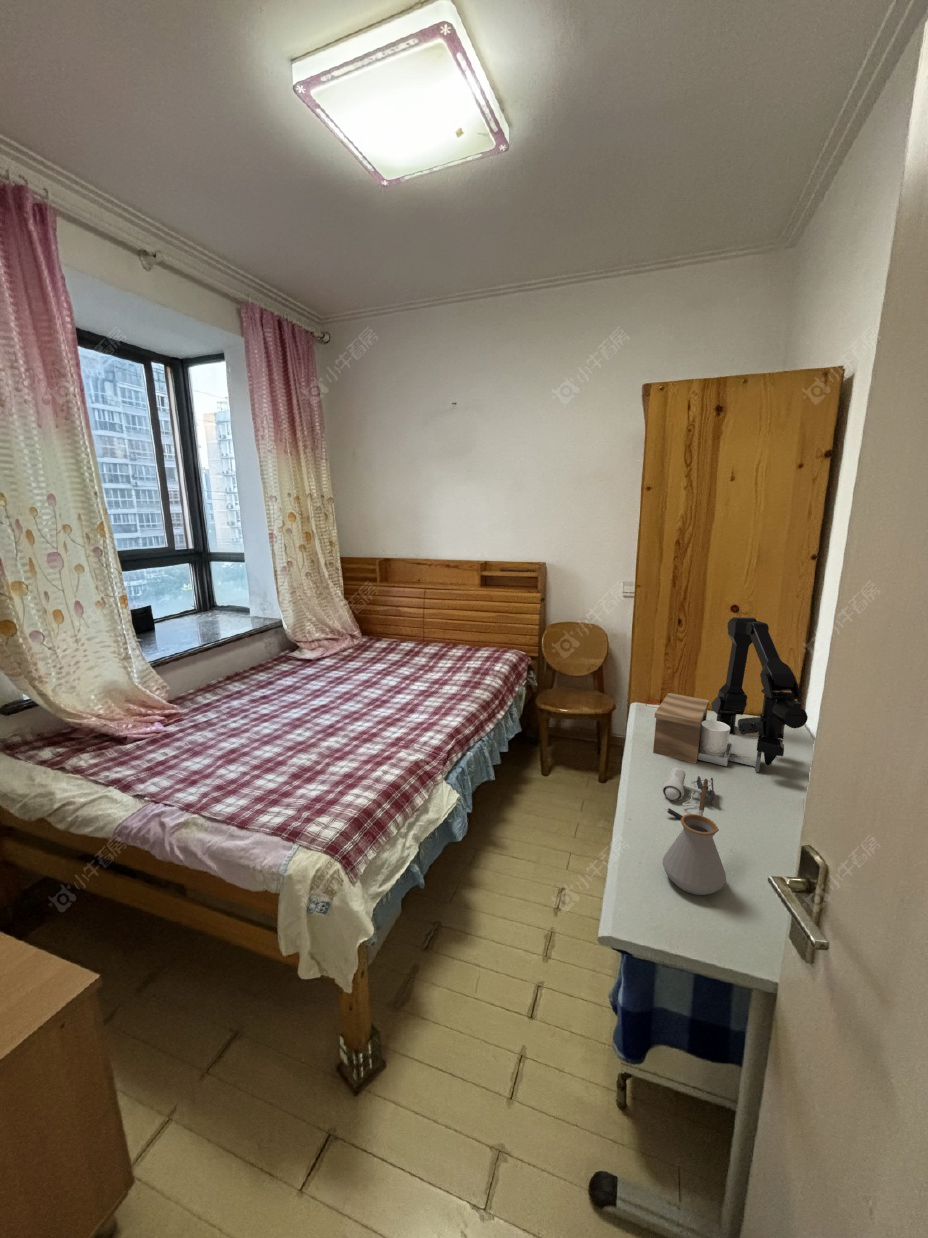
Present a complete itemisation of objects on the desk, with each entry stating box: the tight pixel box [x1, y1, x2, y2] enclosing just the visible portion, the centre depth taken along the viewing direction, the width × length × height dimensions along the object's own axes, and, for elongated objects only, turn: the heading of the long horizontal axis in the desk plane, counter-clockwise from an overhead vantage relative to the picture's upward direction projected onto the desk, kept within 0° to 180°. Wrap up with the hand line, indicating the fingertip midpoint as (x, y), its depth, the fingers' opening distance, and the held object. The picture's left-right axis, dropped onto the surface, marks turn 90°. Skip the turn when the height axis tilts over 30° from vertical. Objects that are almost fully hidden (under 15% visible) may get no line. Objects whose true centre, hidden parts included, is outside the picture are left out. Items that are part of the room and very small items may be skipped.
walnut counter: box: [652, 692, 710, 764], centre depth 154 cm, size 20×12×14 cm, turn 147°
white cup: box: [699, 719, 730, 758], centre depth 150 cm, size 8×8×10 cm
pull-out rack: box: [697, 739, 763, 773], centre depth 148 cm, size 11×17×4 cm, turn 57°
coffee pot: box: [662, 778, 727, 896], centre depth 102 cm, size 21×12×15 cm, turn 150°
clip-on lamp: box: [662, 767, 716, 821], centre depth 125 cm, size 12×6×18 cm
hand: (767, 764), depth 143 cm, fingers closed, pressing on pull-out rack
